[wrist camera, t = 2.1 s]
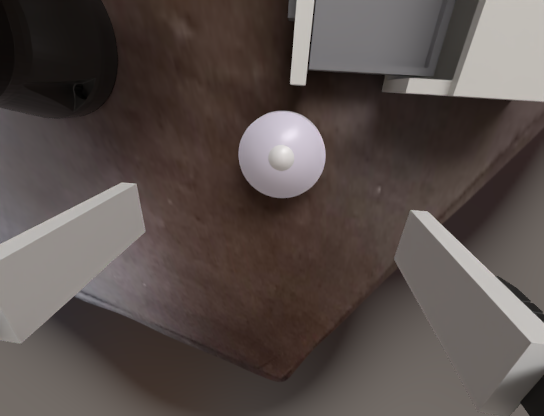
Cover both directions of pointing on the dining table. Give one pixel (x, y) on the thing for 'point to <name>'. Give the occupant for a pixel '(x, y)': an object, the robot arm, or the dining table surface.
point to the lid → (282, 154)
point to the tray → (368, 36)
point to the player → (486, 54)
